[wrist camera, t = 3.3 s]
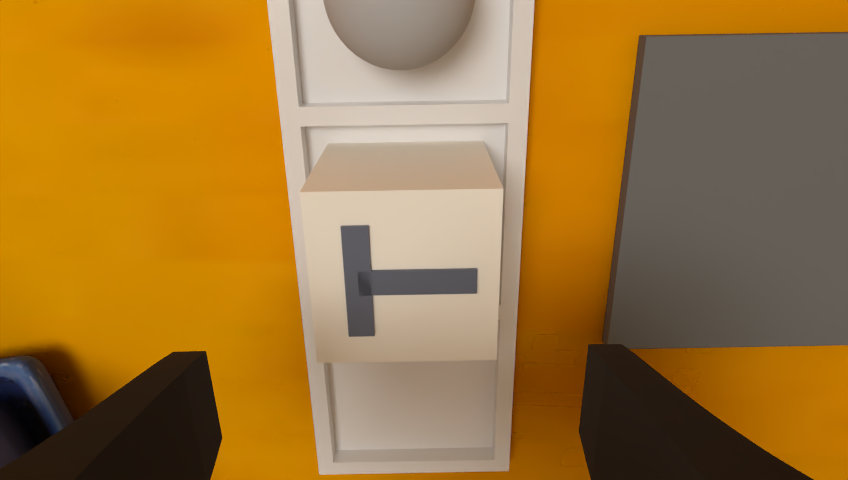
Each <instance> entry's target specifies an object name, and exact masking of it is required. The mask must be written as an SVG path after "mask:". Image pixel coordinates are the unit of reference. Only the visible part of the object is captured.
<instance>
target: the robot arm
mask: <svg viewBox="0 0 848 480" xmlns="http://www.w3.org/2000/svg"><path fill="white" fill-rule="evenodd" d="M579 434H580V438H581V442H582V446H583V450H584V454H585V459H586V462H587V466H588V470H589V474H590V477H591V480H813V479H812V478H810V477H808V476H806V475H805V474H803V473H801V472H800V471H798V470H796V469H795V468H793V467H791V466H790V465H788V464H786V463H784V462H783V461H781V460H779V459H778V458H776V457H775V456H773V455H771V454H770V453H768V452H767V451H765V450H764V449H762V448H761V447H759V446H757V445H756V444H755V443H753V442H752V441H750V440H749V439H747V438H746V437H744V436H743V435H741V434H740V433H738V432H737V431H735V430H734V429H733V428H731V427H730V426H728V425H727V424H725V423H724V422H722V421H721V420H720V419H718V418H717V417H716V416H714V415H713V414H711V413H710V412H709V411H707V410H706V409H705V408H703V407H702V406H701V405H699V404H698V403H697V402H695V401H694V400H693V399H691V398H690V397H689V396H687V395H686V394H685V393H683V392H682V391H681V390H680V389H678V388H677V387H676V386H674V385H673V384H672V383H671V382H669V381H668V380H667V379H666V378H664V377H663V376H662V375H661V374H659V373H658V372H657V371H655V370H654V369H653V368H652V367H650V366H649V365H648V364H647V363H645V362H644V361H643V360H642V359H640V358H639V357H638V356H637V355H635V354H634V353H633V352H631V351H630V350H629V349H627V348H626V347H625V346H623V345H622V344H591V345H588V354H587V363H586V372H585V381H584V390H583V399H582V408H581V417H580V426H579ZM221 440H222V434H221V429H220V423H219V418H218V413H217V408H216V402H215V397H214V392H213V386H212V381H211V376H210V370H209V365H208V360H207V355H206V351H193V352H173V353H171V354H169V355H168V356H166V357H164V358H163V359H161V360H160V361H158V362H157V363H156V364H154V365H153V366H151V367H150V368H148V369H147V370H146V371H144V372H143V373H141V374H140V375H139V376H137V377H136V378H134V379H133V380H132V381H130V382H129V383H127V384H126V385H125V386H123V387H122V388H121V389H119V390H118V391H116V392H115V393H114V394H112V395H111V396H109V397H108V398H107V399H105V400H104V401H102V402H101V403H99V404H98V405H97V406H95V407H94V408H92V409H91V410H90V411H88V412H87V413H85V414H84V415H83V416H81V417H80V418H78V419H77V420H75V421H74V422H72V423H71V424H69V425H68V426H66V427H65V428H63V429H62V430H60V431H59V432H57V433H55V434H54V435H52V436H51V437H49V438H48V439H46V440H45V441H43V442H42V443H40V444H39V445H37V446H36V447H34V448H33V449H31V450H30V451H28V452H27V453H25V454H24V455H22V456H20V457H19V458H17V459H15V460H14V461H12V462H11V463H9V464H7V465H6V466H4V467H2V468H1V469H0V480H210V478H211V475H212V472H213V469H214V465H215V462H216V458H217V455H218V451H219V447H220V444H221Z"/></svg>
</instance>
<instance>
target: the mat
mask: <svg viewBox="0 0 848 480" xmlns="http://www.w3.org/2000/svg"><path fill="white" fill-rule="evenodd" d="M602 341H603V343H604V344H622V345H623V346H625V347H626V348H627V349H653V348H710V347H766V346H823V345H848V32H816V33H754V34H692V35H640V36H639V44H638V52H637V60H636V68H635V77H634V85H633V93H632V101H631V109H630V118H629V126H628V134H627V142H626V150H625V159H624V167H623V175H622V183H621V191H620V200H619V208H618V216H617V224H616V232H615V241H614V249H613V257H612V265H611V273H610V282H609V290H608V298H607V306H606V314H605V323H604V331H603V339H602Z"/></svg>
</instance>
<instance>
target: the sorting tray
mask: <svg viewBox="0 0 848 480" xmlns="http://www.w3.org/2000/svg"><path fill="white" fill-rule="evenodd" d="M534 2H535V0H475V3H474V8H473V12H472V15H471V18H470V21H469V23H468V26H467V28H466V30H465V32H464V33H463V35H462V36H461V38H460V39H459V41H458V42H457V43H456V44H455V45H454V47H453V48H452V49H450V50H449V51H448V52H447V53H446V54H445V55H443V56H442V57H441V58H439V59H438V60H436V61H434V62H432V63H430V64H428V65H425V66H423V67H420V68H415V69H411V70H390V69H385V68H381V67H378V66H375V65H372V64H370V63H368V62H366V61H364V60H362V59H361V58H359V57H358V56H356V55H355V54H354V53H353V52H352V51H350V50H349V49H348V48H347V47H346V46H345V45H344V43H343V42H342V41H341V40H340V38H339V37H338V36H337V34H336V33H335V31H334V29H333V27H332V25H331V24H330V21H329V19H328V16H327V14H326V10H325V6H324V1H323V0H267V5H268V14H269V23H270V32H271V41H272V50H273V59H274V68H275V77H276V86H277V95H278V104H279V114H280V123H281V132H282V141H283V150H284V159H285V168H286V177H287V186H288V195H289V204H290V213H291V222H292V231H293V240H294V249H295V259H296V268H297V277H298V286H299V295H300V304H301V313H302V322H303V331H304V340H305V349H306V358H307V367H308V376H309V385H310V394H311V404H312V413H313V422H314V431H315V440H316V449H317V458H318V467H319V475H323V474H378V473H432V472H487V471H509V459H510V441H511V423H512V404H513V386H514V368H515V349H516V331H517V313H518V295H519V276H520V258H521V240H522V221H523V203H524V185H525V166H526V148H527V130H528V111H529V93H530V75H531V57H532V38H533V20H534ZM426 141H483V142H484V144H485V147H486V149H487V151H488V154H489V156H490V158H491V161H492V163H493V165H494V168H495V170H496V172H497V175H498V177H499V179H500V182H501V184H502V186H503V213H502V238H501V263H500V288H499V313H498V338H497V360H462V361H405V362H349V363H317V358H316V348H315V338H314V328H313V319H312V309H311V299H310V289H309V279H308V270H307V260H306V250H305V240H304V231H303V221H302V211H301V201H300V190H301V189H302V187H303V185H304V184H305V182H306V180H307V178H308V177H309V175H310V173H311V172H312V170H313V168H314V167H315V165H316V163H317V161H318V160H319V158H320V156H321V155H322V153H323V151H324V149H325V148H326V146H327V144H328V143H366V142H426Z"/></svg>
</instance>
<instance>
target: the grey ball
mask: <svg viewBox="0 0 848 480" xmlns="http://www.w3.org/2000/svg"><path fill="white" fill-rule="evenodd" d="M323 1H324V6H325V10H326V14H327V16H328V19H329V21H330V24H331V25H332V27H333V29H334V31H335V33H336V34H337V36H338V37H339V38H340V40H341V41H342V42H343V43H344V45H345V46H346V47H347V48H348V49H349V50H350V51H352V52H353V53H354V54H355V55H356V56H358V57H359V58H361V59H362V60H364V61H366V62H368V63H370V64H372V65H375V66H378V67H381V68H385V69H390V70H411V69H415V68H420V67H423V66H425V65H428V64H430V63H432V62H434V61H436V60H438V59H439V58H441V57H442V56H443V55H445V54H446V53H447V52H448V51H449V50H450V49H452V48H453V47H454V45H455V44H456V43H457V42H458V41H459V39H460V38H461V36H462V35H463V33H464V32H465V30H466V28H467V26H468V23H469V21H470V18H471V15H472V12H473V8H474V3H475V0H323Z"/></svg>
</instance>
